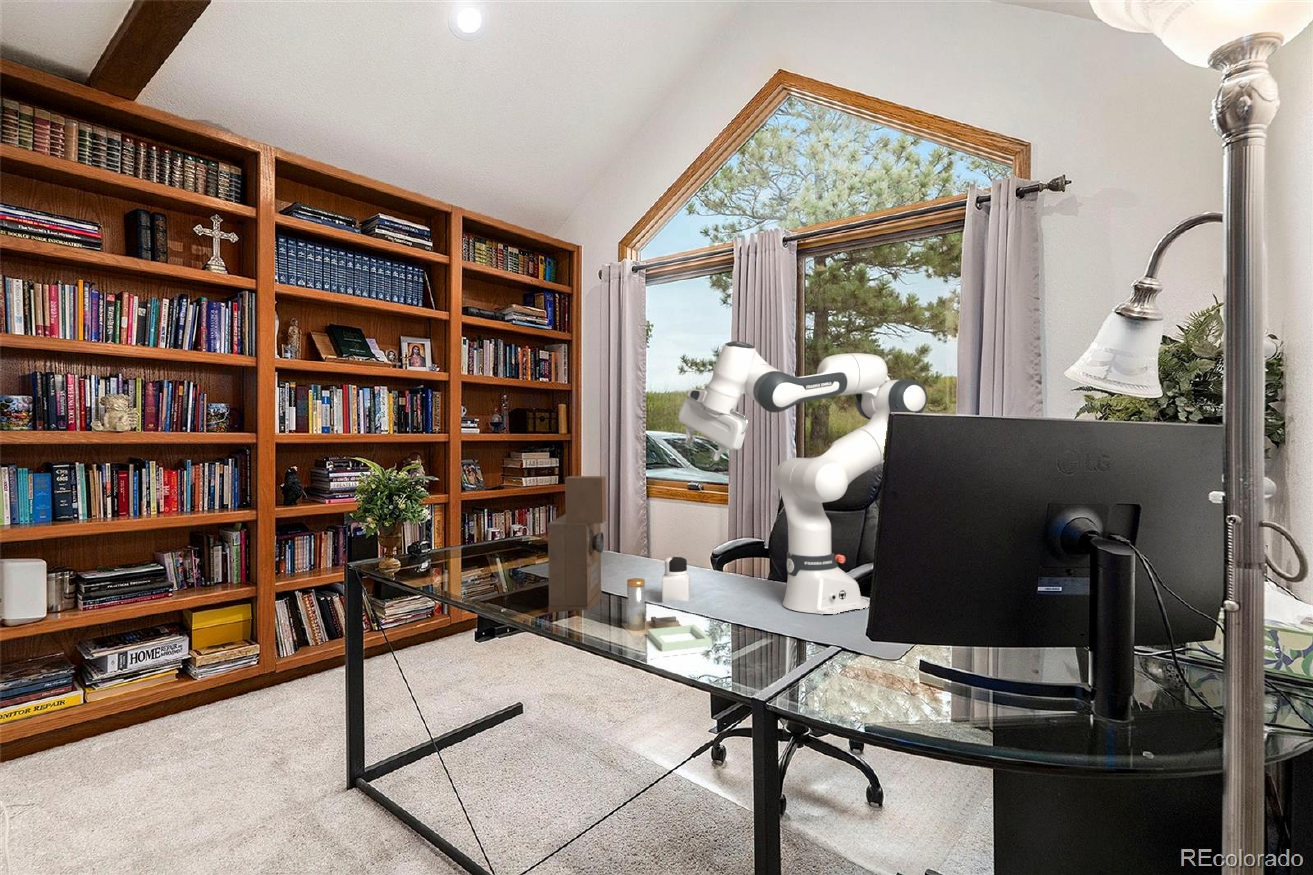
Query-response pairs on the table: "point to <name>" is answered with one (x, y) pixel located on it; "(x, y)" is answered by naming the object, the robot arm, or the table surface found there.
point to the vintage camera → (577, 546)
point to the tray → (678, 645)
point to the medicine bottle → (675, 580)
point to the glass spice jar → (636, 604)
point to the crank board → (654, 625)
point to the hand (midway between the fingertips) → (701, 451)
